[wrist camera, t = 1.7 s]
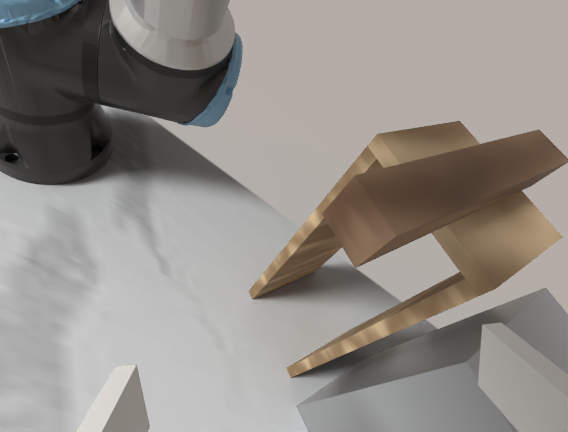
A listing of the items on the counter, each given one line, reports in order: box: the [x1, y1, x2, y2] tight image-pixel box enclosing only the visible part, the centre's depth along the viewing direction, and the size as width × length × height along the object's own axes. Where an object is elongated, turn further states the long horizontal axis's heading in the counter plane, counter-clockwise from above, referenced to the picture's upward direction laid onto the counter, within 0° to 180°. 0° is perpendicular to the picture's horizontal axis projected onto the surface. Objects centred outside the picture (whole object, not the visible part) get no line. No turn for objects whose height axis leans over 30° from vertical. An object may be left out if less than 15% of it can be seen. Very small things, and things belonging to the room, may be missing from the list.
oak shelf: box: [249, 121, 562, 377], centre depth 36 cm, size 12×11×30 cm
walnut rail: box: [322, 130, 568, 268], centre depth 22 cm, size 3×21×3 cm, turn 120°
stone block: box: [297, 288, 568, 432], centre depth 34 cm, size 6×13×26 cm, turn 120°
